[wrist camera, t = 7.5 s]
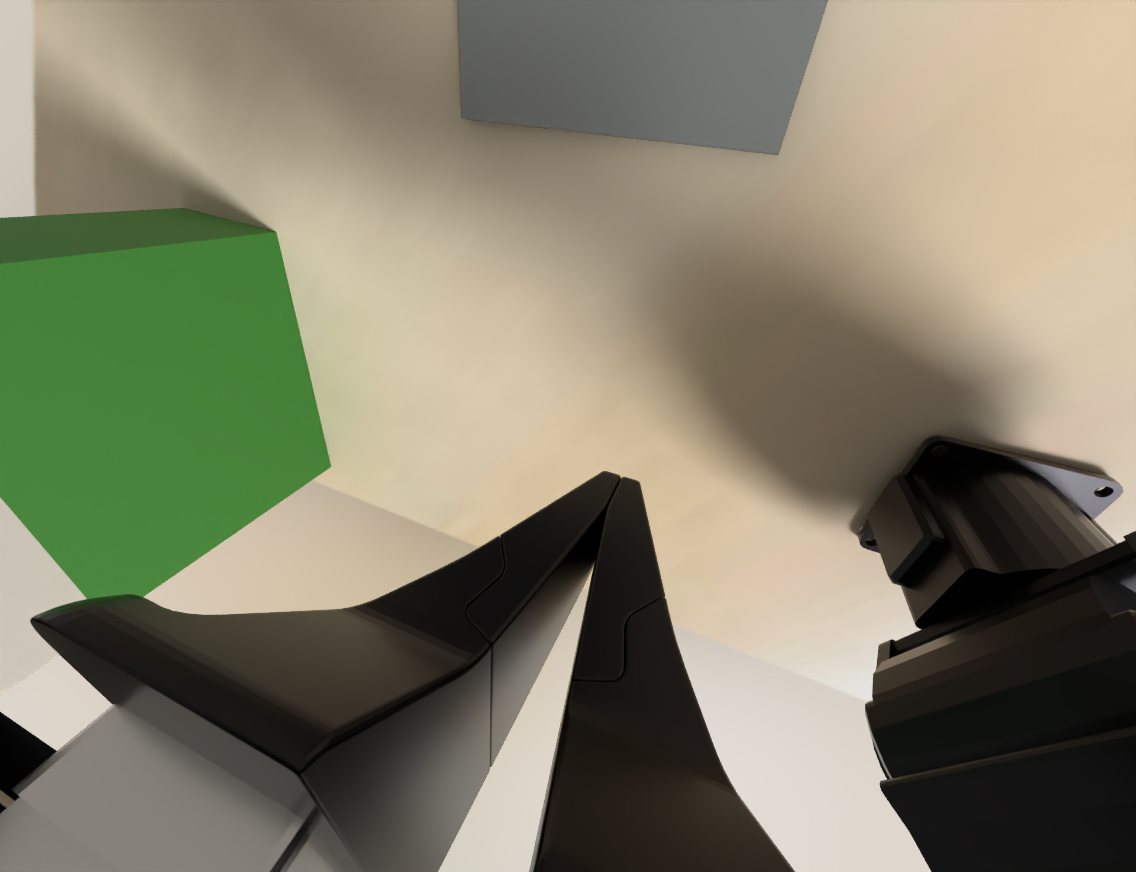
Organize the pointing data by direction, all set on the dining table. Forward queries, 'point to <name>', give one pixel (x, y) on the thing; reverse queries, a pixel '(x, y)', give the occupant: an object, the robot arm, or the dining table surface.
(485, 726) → the robot arm
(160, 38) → the dining table surface
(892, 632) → the dining table surface
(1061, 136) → the dining table surface
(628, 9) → the mat
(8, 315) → the hardback book
